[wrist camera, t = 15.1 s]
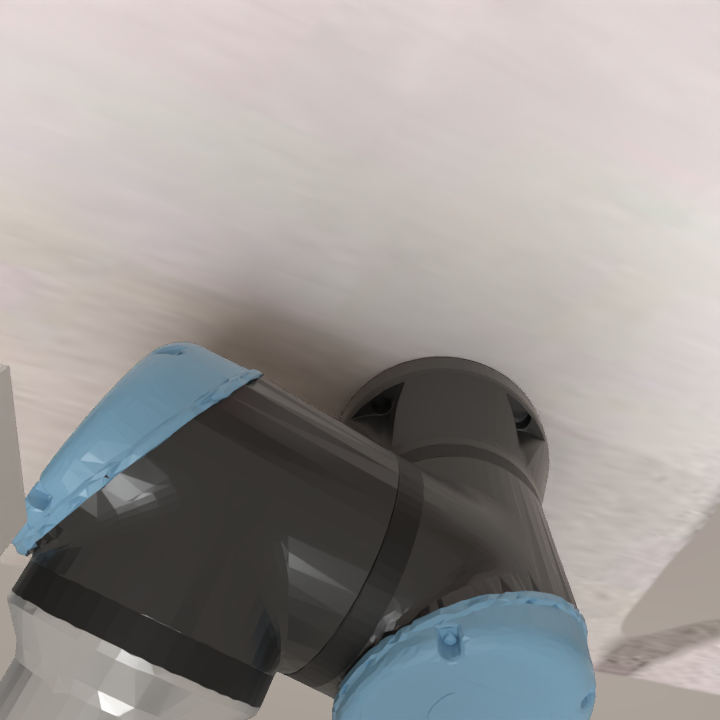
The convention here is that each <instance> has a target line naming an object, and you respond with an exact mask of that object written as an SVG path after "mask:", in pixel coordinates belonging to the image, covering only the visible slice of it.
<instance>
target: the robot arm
mask: <svg viewBox="0 0 720 720" xmlns="http://www.w3.org/2000/svg"><path fill="white" fill-rule="evenodd" d="M263 376H264V375H263V373H261V372H260V371H258V370H256V369H251V370H249V369H246V368H244V367H242V366H240V365H238V364H236V363H234V362H232V361H230V360H228V359H226V358H224V357H222V356H220V355H218V354H216V353H214V352H212V351H210V350H208V349H206V348H204V347H202V346H200V345H197V344H193V343H187V342H177V343H171V344H167V345H164V346H162V347H160V348H158V349H156V350H154V351H153V352H152V353H150V354H148V355H147V356H146V357H145V358H143V359H142V360H141V361H140V362H139V363H137V364H136V365H135V366H134V367H133V368H132V369H131V370H130V371H129V372H128V373H127V374H126V375H125V376H124V377H123V378H122V379H121V380H120V381H119V382H118V383H117V384H116V385H115V386H114V387H113V388H112V389H111V390H110V391H109V392H108V393H107V394H106V396H105V397H104V398H103V399H102V400H101V401H100V402H99V403H98V404H97V405H96V407H95V408H94V409H93V410H92V411H91V412H90V413H89V415H88V416H87V417H86V418H85V419H84V420H83V422H82V423H81V424H80V425H79V426H78V427H77V429H76V430H75V431H74V432H73V434H72V435H71V436H70V437H69V438H68V440H67V441H66V442H65V443H64V445H63V446H62V447H61V448H60V450H59V451H58V452H57V453H56V455H55V456H54V457H53V459H52V460H51V461H50V463H49V464H48V465H47V467H46V468H45V470H44V471H43V472H42V474H41V477H40V480H39V481H38V482H37V483H36V484H35V486H34V487H33V488H32V490H31V491H30V493H29V494H28V495H27V497H26V498H25V494H24V486H23V477H22V469H21V461H20V452H19V444H18V435H17V427H16V418H15V410H14V401H13V393H12V385H11V376H10V368H9V366H7V365H0V556H1V555H2V553H3V552H4V551H5V549H6V548H7V547H8V546H9V544H10V543H12V544H13V545H14V546H15V547H16V550H17V553H19V554H22V555H25V556H28V555H29V554H30V553H31V554H33V555H32V558H31V560H30V561H29V563H28V565H27V566H26V568H25V569H24V571H23V573H22V574H21V576H20V577H19V579H18V581H17V582H16V584H15V585H14V587H13V588H12V590H11V592H10V594H9V595H8V597H7V600H8V604H9V608H10V613H11V617H12V621H13V626H14V630H15V634H16V638H17V643H16V655H15V658H14V660H13V662H12V664H11V665H10V667H9V668H8V670H7V671H6V673H5V675H4V676H3V678H2V680H1V681H0V720H247V719H249V718H252V717H254V716H255V715H256V714H257V712H258V710H259V709H260V707H261V705H262V702H263V700H264V698H265V695H266V693H267V691H268V689H269V686H270V684H271V682H272V680H273V677H274V675H275V674H276V672H280V673H282V674H284V675H287V676H289V677H291V678H293V679H295V680H297V681H299V682H301V683H303V684H305V685H307V686H309V687H311V688H313V689H315V690H317V691H320V692H322V693H324V694H326V695H328V696H330V697H332V698H333V699H334V704H333V709H332V720H589V719H590V717H591V714H592V711H593V707H594V702H595V695H596V694H595V689H596V682H595V673H594V669H593V665H592V661H591V657H590V653H589V649H588V645H587V632H588V631H587V626H586V623H585V620H584V618H583V616H582V614H580V613H579V609H577V606H576V603H575V600H574V597H573V594H572V592H571V589H570V586H569V583H568V580H567V578H566V575H565V572H564V569H563V566H562V563H561V561H560V558H559V555H558V552H557V549H556V547H555V544H554V541H553V538H552V535H551V532H550V529H549V526H548V523H547V520H546V517H545V514H544V512H543V509H542V502H543V497H544V492H545V487H546V482H547V477H548V471H549V451H548V444H547V439H546V436H545V433H544V430H543V427H542V425H541V422H540V420H539V417H538V415H537V413H536V410H535V409H534V407H533V405H532V403H531V402H530V400H529V399H528V397H527V396H526V395H525V394H524V392H523V391H522V390H521V389H520V388H519V387H518V386H517V385H516V384H514V383H513V382H512V381H511V380H510V379H508V378H507V377H505V376H504V375H502V374H501V373H499V372H497V371H495V370H494V369H492V368H489V367H487V366H485V365H482V364H479V363H476V362H473V361H469V360H464V359H458V358H448V357H435V358H424V359H418V360H413V361H410V362H406V363H403V364H400V365H397V366H395V367H393V368H390V369H388V370H386V371H385V372H383V373H381V374H379V375H378V376H376V377H375V378H373V379H372V380H371V381H369V382H368V383H367V384H366V385H364V386H363V387H362V388H361V389H360V390H359V391H358V392H357V394H356V395H355V396H354V397H353V398H352V400H351V401H350V402H349V404H348V405H347V407H346V409H345V410H344V412H343V414H342V416H341V419H340V421H338V420H336V419H334V418H333V417H331V416H329V415H327V414H325V413H324V412H322V411H320V410H318V409H317V408H315V407H313V406H311V405H310V404H308V403H306V402H305V401H303V400H301V399H300V398H298V397H296V396H294V395H293V394H291V393H289V392H288V391H286V390H284V389H283V388H281V387H279V386H277V385H276V384H274V383H272V382H271V381H269V380H267V379H266V378H264V377H263Z"/></svg>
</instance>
